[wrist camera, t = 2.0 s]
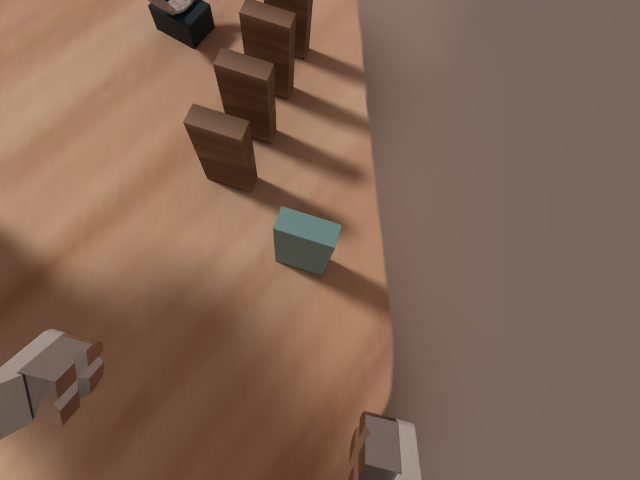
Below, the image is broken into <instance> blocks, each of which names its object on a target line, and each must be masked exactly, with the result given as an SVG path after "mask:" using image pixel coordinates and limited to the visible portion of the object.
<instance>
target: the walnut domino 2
mask: <svg viewBox="0 0 640 480" xmlns="http://www.w3.org/2000/svg"><path fill="white" fill-rule="evenodd" d="M213 66H214V70H215V74H216V78H217V82H218V87H219V91H220V95H221V99H222V103H223V107H224V111H225V114H228V115H231V116H234V117H238V118H241V119H244V120H247V121H249V122H250V129H251V136H252V138H254V139H257V140H260V141H264V142H267V143H270V144H271V142H272V139H273V137H274V134H275V131H276V107H275V75H274V64H273V63H270V62H267V61H264V60H260V59H257V58H254V57H251V56H248V55H245V54H241V53H238V52H235V51H232V50H229V49H225V48H222V47H221V49H220V51H219V53H218V55H217V57H216V59H215V61H214V63H213Z"/></svg>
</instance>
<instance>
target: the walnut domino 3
mask: <svg viewBox="0 0 640 480" xmlns="http://www.w3.org/2000/svg"><path fill="white" fill-rule="evenodd" d="M183 123H184V125H185V127H186V130H187V132H188V134H189V137H190V139H191V141H192V144H193V146H194V148H195V151H196V153H197V155H198V158H199V160H200V162H201V165H202V167H203V169H204V172H205V174H206V176H207V179H210V180H213V181H216V182H220V183H223V184H226V185H229V186H232V187H236V188H239V189H242V190H245V191H248V192H252V189H253V187H254V184H255V182H256V179H257V171H256V164H255V157H254V150H253V143H252V136H251V129H250V122H249V121H247V120H244V119H241V118H238V117H234V116H231V115H228V114H225V113H222V112H218V111H215V110H212V109H209V108H206V107H202V106H199V105H196V104H192V106H191V108H190V110H189V112H188V114H187V116H186V118H185V120H184V122H183Z"/></svg>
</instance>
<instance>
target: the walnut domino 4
mask: <svg viewBox="0 0 640 480" xmlns="http://www.w3.org/2000/svg"><path fill="white" fill-rule="evenodd" d="M264 3H265V4H268V5H271V6H274V7H278V8H281V9H284V10H287V11H290V12H293V13H296V29H295V55H294V57H298V58H301V59H305V56H306V54H307V51H308V49H309V40H310V28H311V15H312V3H313V0H264Z"/></svg>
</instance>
